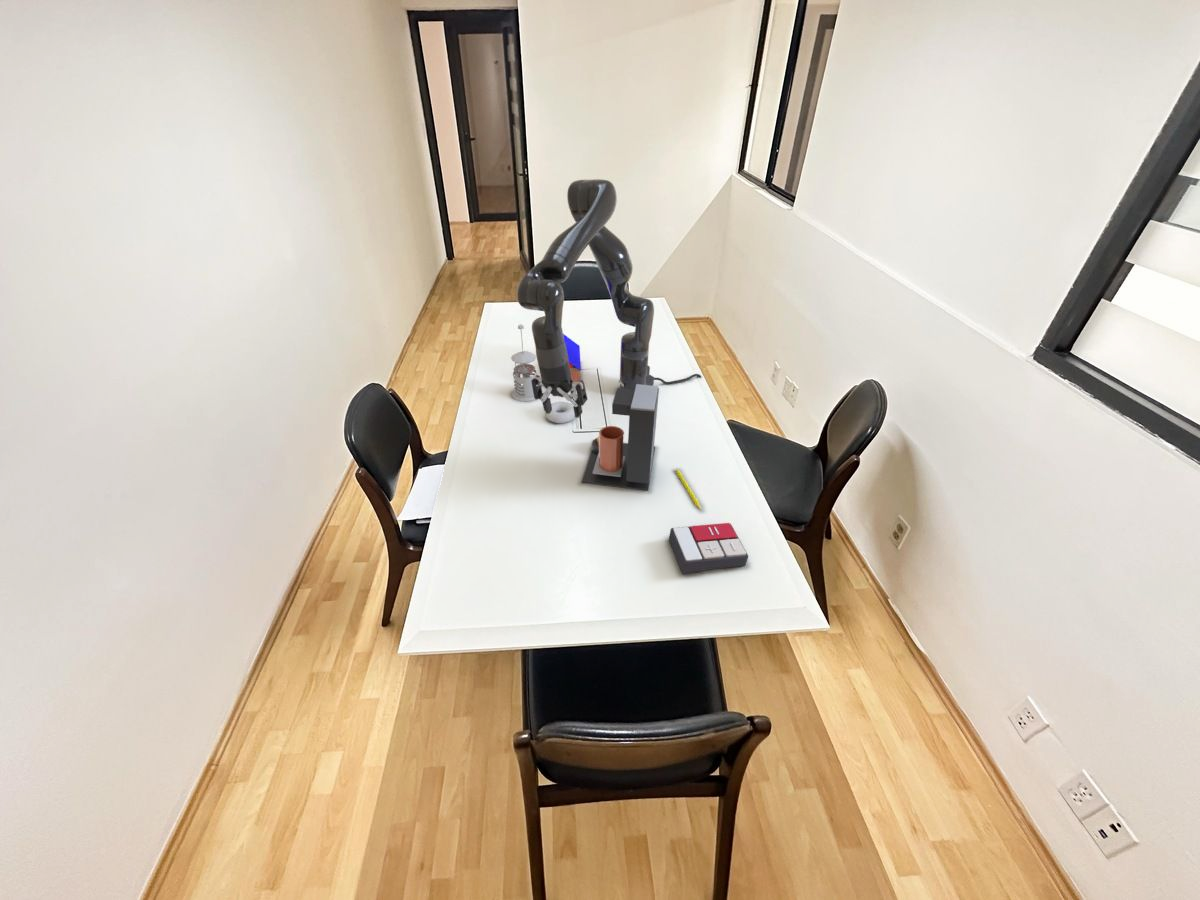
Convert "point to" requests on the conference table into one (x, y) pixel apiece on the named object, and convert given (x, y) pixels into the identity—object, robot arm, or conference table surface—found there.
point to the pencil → (688, 488)
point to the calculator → (707, 547)
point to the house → (573, 358)
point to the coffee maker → (636, 431)
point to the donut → (561, 417)
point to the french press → (523, 374)
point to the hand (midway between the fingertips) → (563, 414)
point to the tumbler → (611, 448)
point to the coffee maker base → (610, 480)
